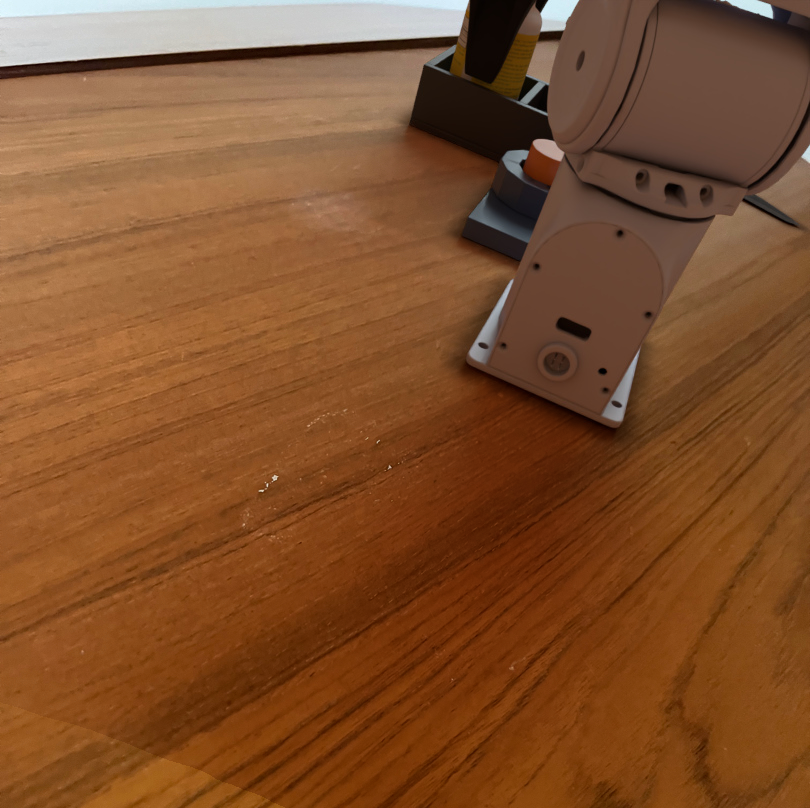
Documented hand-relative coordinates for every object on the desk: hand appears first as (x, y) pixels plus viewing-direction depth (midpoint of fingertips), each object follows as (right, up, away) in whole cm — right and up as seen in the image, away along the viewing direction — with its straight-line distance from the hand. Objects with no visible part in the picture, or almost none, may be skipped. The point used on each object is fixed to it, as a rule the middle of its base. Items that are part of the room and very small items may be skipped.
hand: (489, 69), depth 54 cm
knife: (+20, -5, +9) cm, 22 cm away
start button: (+3, -11, -7) cm, 13 cm away
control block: (+2, -15, -6) cm, 16 cm away
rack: (+2, -4, +3) cm, 6 cm away
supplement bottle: (-1, -2, +3) cm, 4 cm away
